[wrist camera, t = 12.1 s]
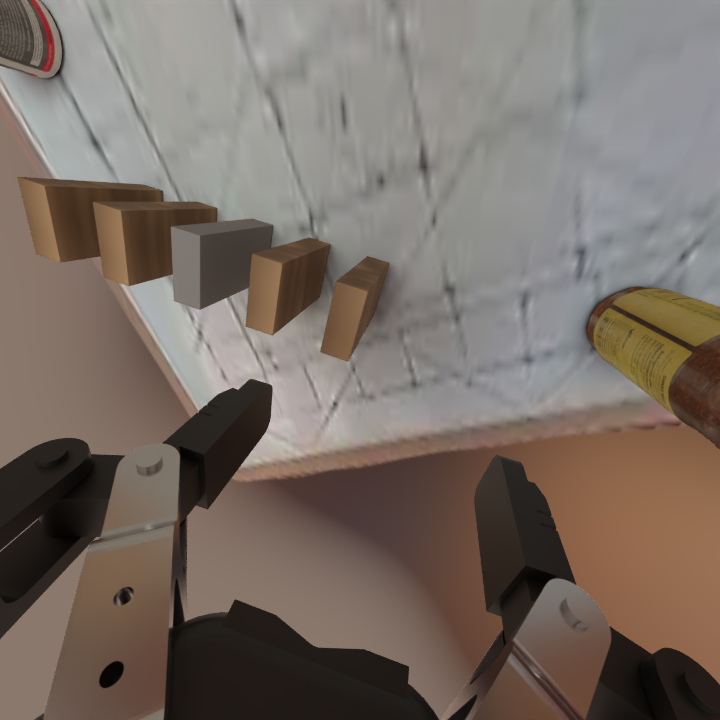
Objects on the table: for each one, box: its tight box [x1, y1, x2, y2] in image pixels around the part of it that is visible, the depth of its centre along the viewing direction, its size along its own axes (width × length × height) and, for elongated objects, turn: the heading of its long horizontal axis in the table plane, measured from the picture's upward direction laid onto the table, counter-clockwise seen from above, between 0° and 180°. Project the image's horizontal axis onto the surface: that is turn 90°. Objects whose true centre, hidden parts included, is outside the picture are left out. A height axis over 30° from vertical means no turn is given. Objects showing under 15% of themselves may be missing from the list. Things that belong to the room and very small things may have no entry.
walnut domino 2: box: [93, 202, 217, 286], centre depth 25 cm, size 2×5×10 cm, turn 165°
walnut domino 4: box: [320, 256, 389, 361], centre depth 24 cm, size 2×5×10 cm, turn 165°
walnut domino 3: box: [246, 238, 330, 336], centre depth 25 cm, size 2×5×10 cm, turn 165°
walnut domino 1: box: [18, 177, 163, 262], centre depth 26 cm, size 2×5×10 cm, turn 165°
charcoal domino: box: [171, 219, 273, 310], centre depth 25 cm, size 2×5×10 cm, turn 165°
